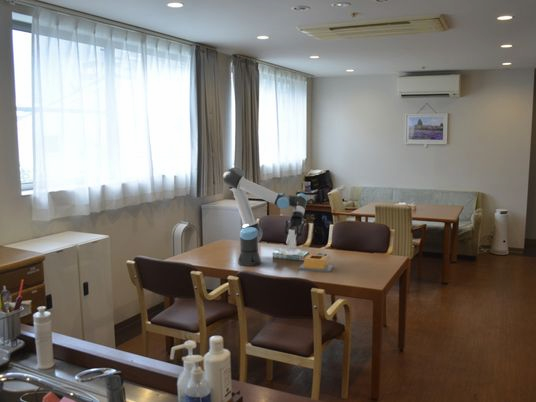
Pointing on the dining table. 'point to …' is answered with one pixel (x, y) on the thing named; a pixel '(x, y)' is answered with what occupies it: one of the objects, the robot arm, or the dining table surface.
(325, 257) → the yellow and grey block
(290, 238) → the white cylinder
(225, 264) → the dining table surface
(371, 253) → the dining table surface
